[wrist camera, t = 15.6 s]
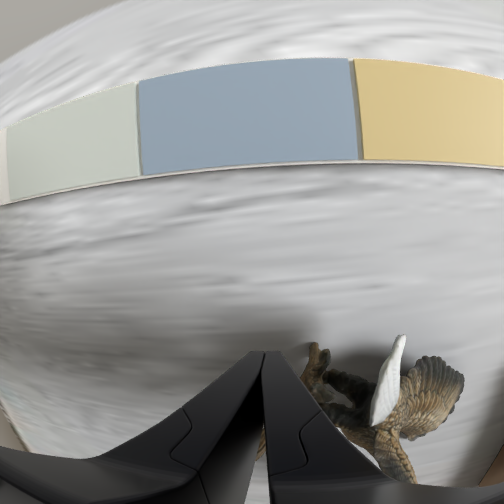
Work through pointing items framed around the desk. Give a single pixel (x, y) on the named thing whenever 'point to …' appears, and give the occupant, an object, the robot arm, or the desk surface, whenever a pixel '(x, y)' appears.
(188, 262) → the desk surface
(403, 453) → the eagle figurine
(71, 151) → the track board
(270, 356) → the robot arm
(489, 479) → the dice tray
